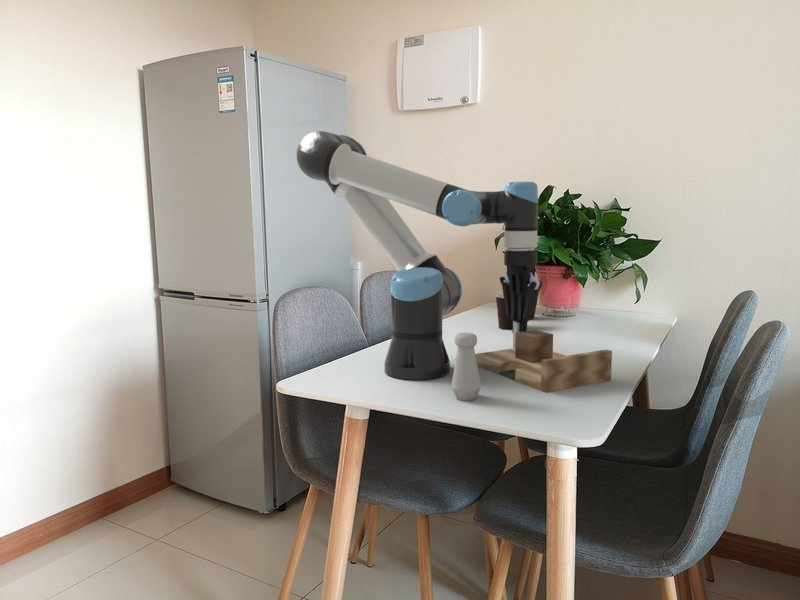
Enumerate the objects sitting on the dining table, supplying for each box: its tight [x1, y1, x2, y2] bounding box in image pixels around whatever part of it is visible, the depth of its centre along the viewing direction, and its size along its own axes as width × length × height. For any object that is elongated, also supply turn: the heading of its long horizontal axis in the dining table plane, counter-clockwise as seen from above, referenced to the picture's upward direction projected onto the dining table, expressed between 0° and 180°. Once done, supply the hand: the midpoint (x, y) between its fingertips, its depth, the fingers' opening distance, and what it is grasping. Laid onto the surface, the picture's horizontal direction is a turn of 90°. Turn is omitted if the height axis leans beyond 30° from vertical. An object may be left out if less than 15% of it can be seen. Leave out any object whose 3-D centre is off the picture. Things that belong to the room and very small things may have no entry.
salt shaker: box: [450, 332, 482, 402], centre depth 120 cm, size 6×6×13 cm
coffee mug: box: [495, 293, 512, 331], centre depth 188 cm, size 12×9×10 cm
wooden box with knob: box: [475, 347, 613, 393], centre depth 138 cm, size 18×26×6 cm
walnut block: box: [515, 329, 554, 363], centre depth 140 cm, size 6×6×6 cm
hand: (519, 348), depth 145 cm, fingers closed
